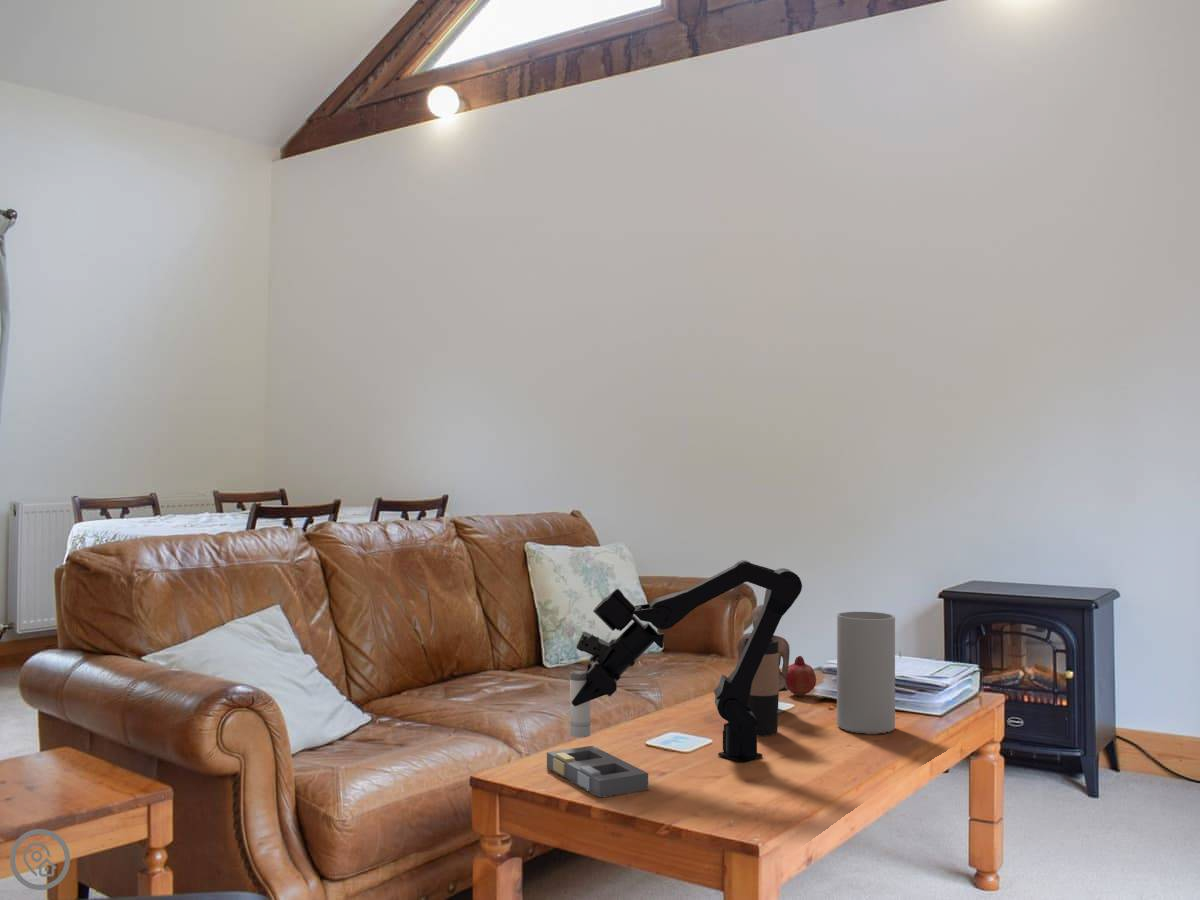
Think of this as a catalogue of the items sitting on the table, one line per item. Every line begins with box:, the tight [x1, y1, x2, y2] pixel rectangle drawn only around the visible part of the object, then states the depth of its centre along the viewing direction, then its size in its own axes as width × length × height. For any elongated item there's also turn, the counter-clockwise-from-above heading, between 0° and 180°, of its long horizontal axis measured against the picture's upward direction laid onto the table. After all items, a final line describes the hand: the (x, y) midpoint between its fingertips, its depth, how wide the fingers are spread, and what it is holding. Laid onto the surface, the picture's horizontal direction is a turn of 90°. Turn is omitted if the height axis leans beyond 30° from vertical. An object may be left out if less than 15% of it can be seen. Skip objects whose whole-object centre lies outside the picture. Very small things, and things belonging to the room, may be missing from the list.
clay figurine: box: [737, 604, 791, 693], centre depth 255 cm, size 13×10×25 cm
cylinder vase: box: [836, 611, 896, 735], centre depth 238 cm, size 12×12×25 cm
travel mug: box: [744, 638, 780, 736], centre depth 234 cm, size 8×8×20 cm
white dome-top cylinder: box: [569, 670, 592, 739], centre depth 215 cm, size 4×4×12 cm
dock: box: [546, 745, 649, 798], centre depth 199 cm, size 21×10×4 cm, turn 29°
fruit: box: [784, 655, 817, 696], centre depth 270 cm, size 8×8×10 cm
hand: (573, 702), depth 215 cm, fingers closed on white dome-top cylinder, 4 cm apart
